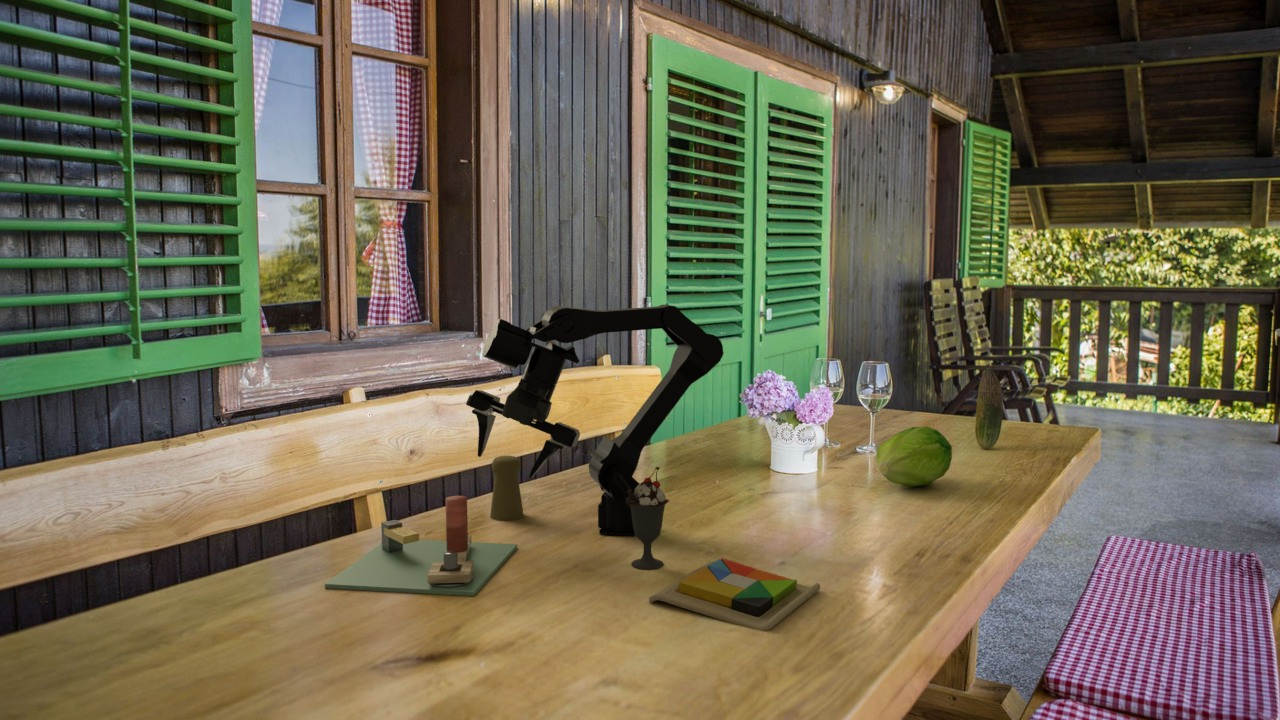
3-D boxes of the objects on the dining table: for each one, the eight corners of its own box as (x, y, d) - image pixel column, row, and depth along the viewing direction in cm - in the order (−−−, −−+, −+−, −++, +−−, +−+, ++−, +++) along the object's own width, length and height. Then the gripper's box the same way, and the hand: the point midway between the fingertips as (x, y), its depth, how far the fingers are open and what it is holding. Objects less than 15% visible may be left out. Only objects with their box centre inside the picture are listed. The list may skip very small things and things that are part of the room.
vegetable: (971, 445, 234) (974, 366, 232) (997, 446, 234) (1001, 366, 231) (976, 450, 228) (980, 369, 226) (1003, 451, 228) (1007, 369, 225)
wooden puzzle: (772, 637, 118) (773, 610, 117) (644, 607, 128) (644, 582, 127) (823, 595, 132) (823, 571, 132) (705, 571, 142) (705, 548, 142)
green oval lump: (850, 490, 189) (852, 432, 188) (903, 474, 203) (904, 420, 202) (912, 503, 179) (914, 442, 178) (963, 485, 193) (965, 428, 192)
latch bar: (469, 582, 132) (468, 518, 131) (427, 583, 132) (426, 519, 131) (480, 541, 151) (479, 486, 150) (444, 542, 150) (443, 486, 149)
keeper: (381, 553, 149) (380, 522, 148) (396, 549, 151) (395, 519, 150) (403, 565, 143) (403, 533, 143) (419, 561, 145) (418, 530, 144)
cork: (517, 521, 167) (516, 460, 166) (485, 519, 168) (484, 459, 167) (527, 512, 173) (527, 453, 172) (496, 510, 174) (496, 452, 173)
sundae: (674, 560, 146) (675, 465, 144) (661, 573, 140) (661, 475, 138) (634, 555, 148) (634, 462, 146) (619, 568, 142) (619, 471, 140)
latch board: (517, 547, 152) (517, 544, 152) (474, 596, 130) (473, 592, 130) (388, 541, 155) (388, 538, 155) (324, 588, 133) (324, 583, 133)
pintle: (479, 577, 138) (478, 547, 137) (465, 593, 131) (464, 561, 131) (437, 575, 139) (437, 545, 138) (421, 590, 132) (420, 559, 132)
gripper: (476, 355, 147) (439, 448, 147) (585, 399, 145) (548, 493, 145) (492, 359, 158) (458, 445, 158) (594, 400, 156) (559, 487, 156)
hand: (504, 467), depth 154 cm, fingers open, 9 cm apart
